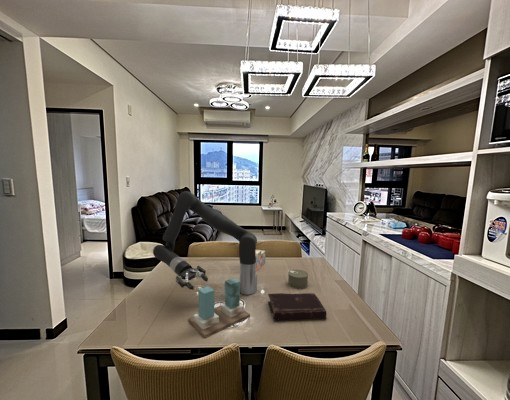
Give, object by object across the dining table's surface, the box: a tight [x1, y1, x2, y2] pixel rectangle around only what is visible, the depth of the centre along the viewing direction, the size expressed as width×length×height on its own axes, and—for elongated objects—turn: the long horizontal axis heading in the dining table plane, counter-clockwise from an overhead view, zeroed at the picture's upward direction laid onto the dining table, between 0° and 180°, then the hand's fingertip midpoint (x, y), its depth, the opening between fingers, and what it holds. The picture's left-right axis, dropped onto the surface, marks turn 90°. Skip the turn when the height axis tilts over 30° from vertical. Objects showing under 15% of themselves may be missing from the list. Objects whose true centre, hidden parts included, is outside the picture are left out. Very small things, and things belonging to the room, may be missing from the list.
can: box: [287, 269, 309, 289], centre depth 152 cm, size 12×12×7 cm
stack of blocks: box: [256, 249, 266, 272], centre depth 179 cm, size 21×6×12 cm, turn 159°
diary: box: [267, 292, 327, 322], centre depth 124 cm, size 19×25×5 cm
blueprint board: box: [187, 277, 251, 339], centre depth 114 cm, size 24×15×16 cm, turn 131°
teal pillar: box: [197, 285, 215, 320], centre depth 109 cm, size 5×5×12 cm
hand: (200, 284), depth 120 cm, fingers open, 8 cm apart
